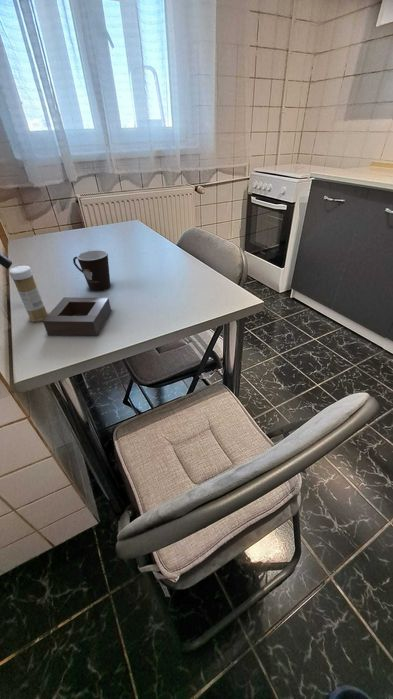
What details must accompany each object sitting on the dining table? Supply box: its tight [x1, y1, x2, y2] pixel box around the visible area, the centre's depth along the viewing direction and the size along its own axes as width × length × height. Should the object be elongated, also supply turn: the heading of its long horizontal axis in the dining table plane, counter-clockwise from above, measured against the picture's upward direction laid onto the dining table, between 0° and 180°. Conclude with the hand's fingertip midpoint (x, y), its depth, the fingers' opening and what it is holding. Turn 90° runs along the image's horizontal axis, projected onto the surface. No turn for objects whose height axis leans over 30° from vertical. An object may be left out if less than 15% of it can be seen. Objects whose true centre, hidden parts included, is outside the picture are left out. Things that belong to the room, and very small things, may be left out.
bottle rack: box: [42, 296, 112, 337], centre depth 73 cm, size 12×12×4 cm
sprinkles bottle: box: [8, 265, 49, 323], centre depth 73 cm, size 5×5×14 cm
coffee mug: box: [72, 249, 111, 292], centre depth 89 cm, size 12×9×10 cm
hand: (0, 272), depth 70 cm, fingers open, 8 cm apart
